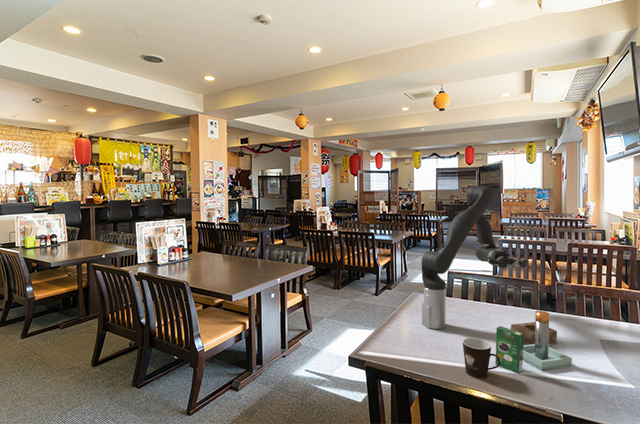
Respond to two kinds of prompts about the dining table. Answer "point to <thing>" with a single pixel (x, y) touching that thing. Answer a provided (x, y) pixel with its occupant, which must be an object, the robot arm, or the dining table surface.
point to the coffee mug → (477, 357)
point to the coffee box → (509, 349)
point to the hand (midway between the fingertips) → (513, 264)
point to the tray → (553, 362)
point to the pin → (541, 335)
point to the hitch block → (532, 333)
